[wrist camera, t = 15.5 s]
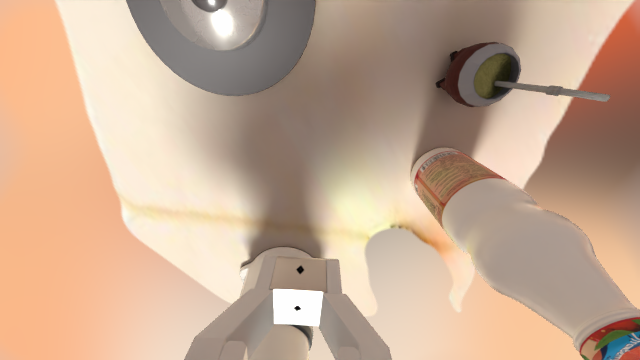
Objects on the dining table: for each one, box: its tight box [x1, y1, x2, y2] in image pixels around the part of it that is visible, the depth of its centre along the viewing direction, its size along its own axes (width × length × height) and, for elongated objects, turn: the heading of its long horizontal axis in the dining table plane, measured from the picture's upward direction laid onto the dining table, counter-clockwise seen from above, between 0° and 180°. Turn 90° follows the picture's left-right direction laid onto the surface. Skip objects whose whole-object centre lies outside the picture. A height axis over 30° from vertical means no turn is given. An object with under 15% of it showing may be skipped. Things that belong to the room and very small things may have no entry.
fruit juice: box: [411, 148, 640, 360], centre depth 27 cm, size 9×9×28 cm
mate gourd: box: [436, 42, 610, 107], centre depth 26 cm, size 8×8×15 cm
